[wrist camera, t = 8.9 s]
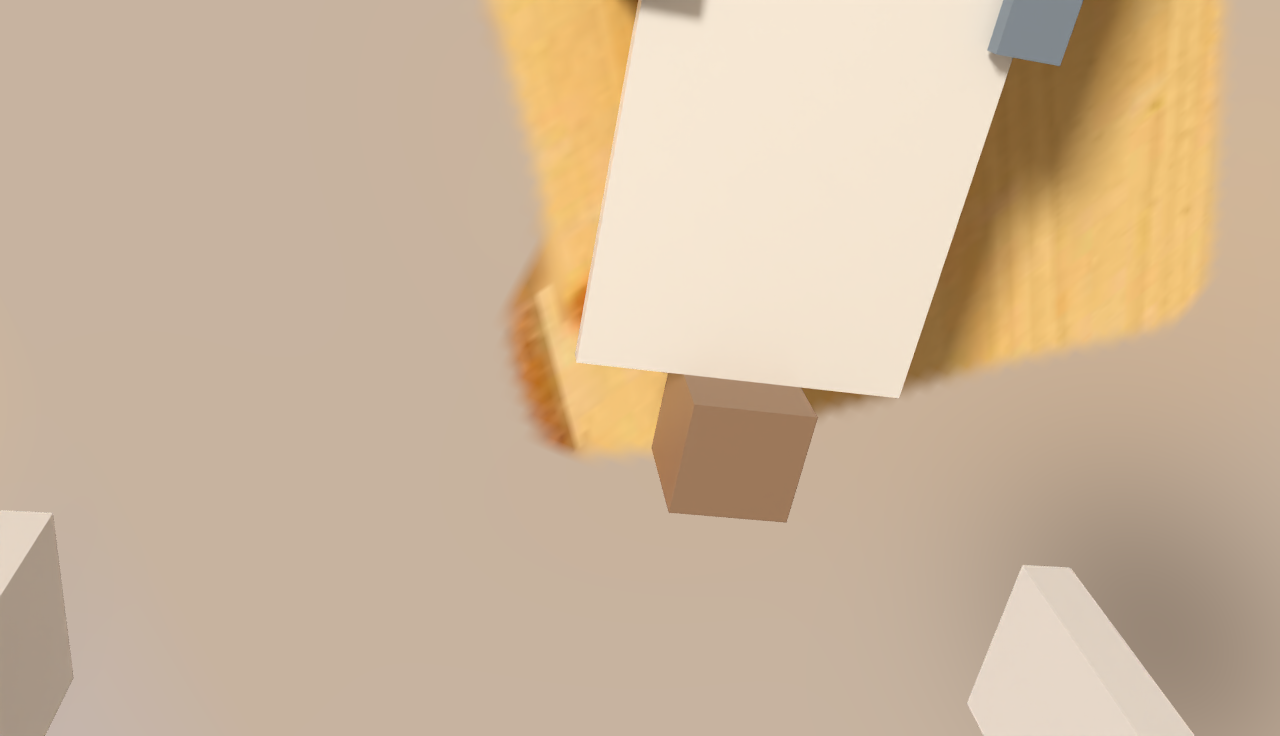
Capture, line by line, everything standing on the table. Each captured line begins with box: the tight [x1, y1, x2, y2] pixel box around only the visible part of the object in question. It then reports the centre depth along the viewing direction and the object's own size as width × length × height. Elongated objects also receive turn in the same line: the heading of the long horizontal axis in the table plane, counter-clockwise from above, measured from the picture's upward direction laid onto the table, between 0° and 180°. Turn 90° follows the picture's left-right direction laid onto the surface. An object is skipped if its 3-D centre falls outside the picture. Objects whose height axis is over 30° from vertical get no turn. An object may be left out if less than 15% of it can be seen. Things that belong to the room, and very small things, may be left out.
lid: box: [575, 0, 1013, 522], centre depth 32 cm, size 20×11×4 cm, turn 169°
